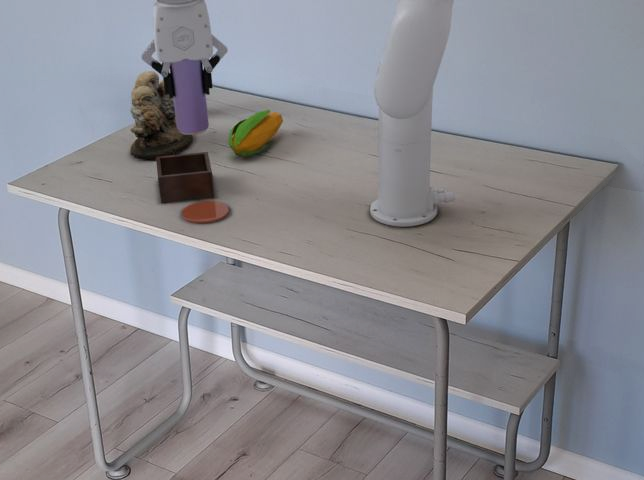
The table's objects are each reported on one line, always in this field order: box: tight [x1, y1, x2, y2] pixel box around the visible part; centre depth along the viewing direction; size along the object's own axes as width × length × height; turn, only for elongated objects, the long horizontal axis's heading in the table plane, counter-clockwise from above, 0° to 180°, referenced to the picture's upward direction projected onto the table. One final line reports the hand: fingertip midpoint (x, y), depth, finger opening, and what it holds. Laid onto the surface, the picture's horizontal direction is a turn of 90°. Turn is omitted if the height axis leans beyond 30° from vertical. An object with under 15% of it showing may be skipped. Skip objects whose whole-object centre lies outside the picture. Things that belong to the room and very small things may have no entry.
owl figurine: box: [129, 70, 194, 161], centre depth 222 cm, size 18×12×17 cm, turn 155°
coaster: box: [181, 200, 230, 224], centre depth 198 cm, size 9×9×1 cm
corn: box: [227, 109, 284, 158], centre depth 223 cm, size 7×8×20 cm
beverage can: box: [169, 59, 210, 136], centre depth 187 cm, size 6×6×15 cm
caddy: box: [155, 151, 215, 204], centre depth 206 cm, size 11×11×6 cm
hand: (189, 93), depth 188 cm, fingers closed on beverage can, 6 cm apart
